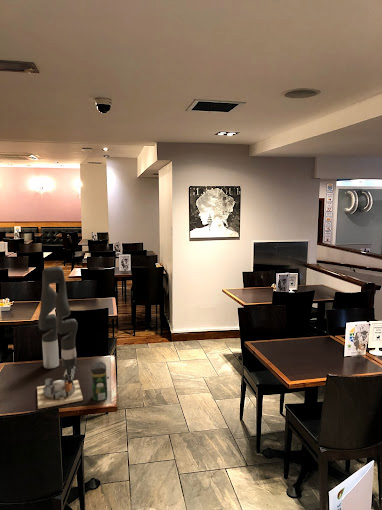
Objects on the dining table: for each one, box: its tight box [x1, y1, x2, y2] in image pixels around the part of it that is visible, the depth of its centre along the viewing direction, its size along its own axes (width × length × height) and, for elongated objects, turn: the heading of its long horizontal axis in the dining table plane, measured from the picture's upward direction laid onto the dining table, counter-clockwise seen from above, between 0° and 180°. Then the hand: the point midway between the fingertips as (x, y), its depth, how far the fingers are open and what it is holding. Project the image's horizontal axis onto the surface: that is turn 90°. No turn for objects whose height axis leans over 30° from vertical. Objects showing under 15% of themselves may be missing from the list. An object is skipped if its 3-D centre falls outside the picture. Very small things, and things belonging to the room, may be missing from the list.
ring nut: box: [43, 377, 75, 399], centre depth 217 cm, size 16×16×6 cm
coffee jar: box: [90, 361, 108, 402], centre depth 214 cm, size 10×8×19 cm
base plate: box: [36, 379, 84, 410], centre depth 218 cm, size 22×22×7 cm
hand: (70, 385), depth 218 cm, fingers closed
